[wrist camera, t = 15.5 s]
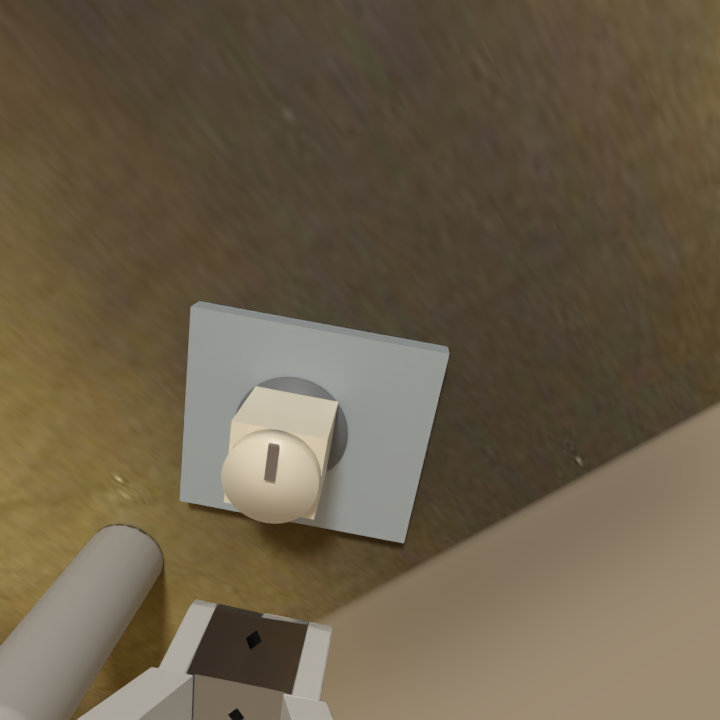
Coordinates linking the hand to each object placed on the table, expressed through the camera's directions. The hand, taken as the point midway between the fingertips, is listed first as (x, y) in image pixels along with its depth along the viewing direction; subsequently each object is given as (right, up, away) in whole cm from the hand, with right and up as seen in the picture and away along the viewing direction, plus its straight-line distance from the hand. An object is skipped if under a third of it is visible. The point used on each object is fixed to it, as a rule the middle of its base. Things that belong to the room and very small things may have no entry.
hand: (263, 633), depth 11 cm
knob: (-3, +1, +27) cm, 27 cm away
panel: (-2, +1, +29) cm, 29 cm away
